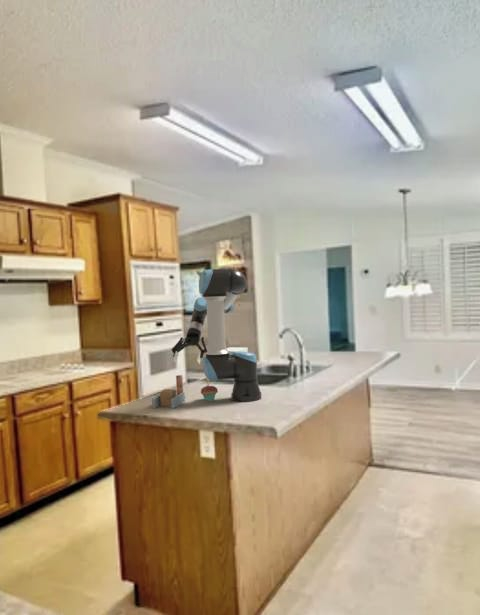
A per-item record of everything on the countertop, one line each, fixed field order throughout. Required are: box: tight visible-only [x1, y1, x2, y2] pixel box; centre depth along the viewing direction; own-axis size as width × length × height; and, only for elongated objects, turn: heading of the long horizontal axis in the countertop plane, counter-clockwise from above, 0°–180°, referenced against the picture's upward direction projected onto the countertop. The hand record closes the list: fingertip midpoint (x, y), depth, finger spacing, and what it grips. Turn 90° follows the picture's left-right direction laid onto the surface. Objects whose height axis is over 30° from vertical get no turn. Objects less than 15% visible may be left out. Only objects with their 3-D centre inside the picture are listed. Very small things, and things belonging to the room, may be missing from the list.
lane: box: [151, 392, 186, 410], centre depth 237 cm, size 14×11×4 cm
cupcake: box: [200, 378, 219, 402], centre depth 244 cm, size 9×8×12 cm
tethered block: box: [159, 374, 184, 407], centre depth 244 cm, size 20×6×12 cm, turn 165°
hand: (186, 362), depth 261 cm, fingers open, 13 cm apart
